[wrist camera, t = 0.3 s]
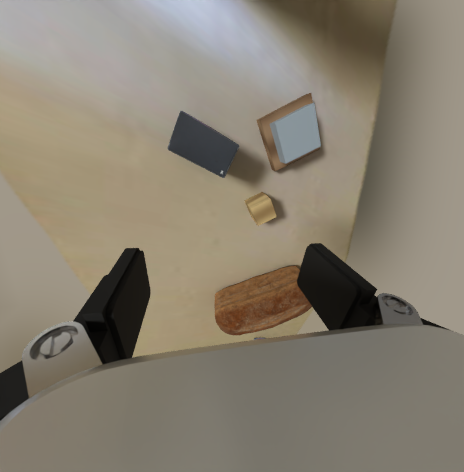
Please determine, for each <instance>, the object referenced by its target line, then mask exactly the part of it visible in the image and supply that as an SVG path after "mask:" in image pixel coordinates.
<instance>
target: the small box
mask: <svg viewBox="0 0 464 472" xmlns="http://www.w3.org/2000/svg"><path fill="white" fill-rule="evenodd" d="M238 148H239V145H238V144H236V143H235V142H233V141H232V140H230V139H228V138H227V137H225V136H224V135H222V134H220V133H219V132H217V131H216V130H214V129H212V128H211V127H209V126H207V125H206V124H204V123H202V122H201V121H199V120H197V119H195V118H194V117H192V116H190V115H189V114H187V113H185V112H183V111H180V114H179V116H178V119H177V122H176V125H175V128H174V131H173V134H172V137H171V140H170V143H169V146H168V150H169V151H171V152H173V153H175V154H177V155H179V156H181V157H183V158H185V159H187V160H189V161H191V162H193V163H195V164H197V165H199V166H201V167H203V168H205V169H206V170H208V171H210V172H212V173H214V174H216V175H218V176H220V177H222V178H225V176H226V174H227V171H228V169H229V167H230V165H231V163H232V161H233V159H234V157H235V154H236V153H237V150H238Z"/></svg>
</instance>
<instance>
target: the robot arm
mask: <svg viewBox="0 0 464 472" xmlns="http://www.w3.org/2000/svg"><path fill="white" fill-rule="evenodd" d="M297 285H298V287H299V288H300V290H301V291H302V293H303V294H304V295H305V297H306V298H307V300H308V301H309V302H310V304H311V305H312V307H313V308H314V310H315V311H316V312H317V314H318V315H319V317H320V318H321V319H322V321H323V322H324V324H325V325H326V327H327V328H328V329H329V331H323V332H314V333H307V334H298V335H290V336H282V337H274V338H267V339H259V340H251V341H244V342H236V343H229V344H221V345H214V346H206V347H199V348H191V349H184V350H178V351H171V352H164V353H158V354H151V355H144V356H139V357H134V358H132V355H133V352H134V349H135V345H136V342H137V338H138V335H139V332H140V328H141V325H142V322H143V318H144V315H145V312H146V308H147V305H148V302H149V298H150V286H149V280H148V274H147V268H146V263H145V257H144V252H143V251H140V250H139V248H126V249H125V250H124V252H123V253H122V255H121V256H120V258H119V259H118V261H117V262H116V264H115V265H114V267H113V268H112V270H111V271H110V273H109V274H108V275H106V276H104V277H103V278H102V280H101V281H100V283H99V284H98V286H97V287H96V289H95V290H94V292H93V293H92V294H91V296H90V297H89V299H88V300H87V302H86V303H85V305H84V306H83V308H82V309H81V311H80V312H79V314H78V315H77V316H76V318H75V319H74V321H73V322H64V323H60V324H57V325H55V326H52V327H50V328H48V329H47V330H45V331H43V332H41V333H40V334H39V335H38V336H36V337H35V338H34V339H33V340H32V341H31V342H30V343H29V344H28V345H27V346H26V348H25V350H24V352H23V355H22V361H21V362H19V363H17V364H15V365H13V366H12V367H10V368H8V369H7V370H5V371H3V372H2V373H0V472H464V335H462V334H459V333H457V332H454V331H451V330H449V329H446V328H444V327H441V326H439V325H436V324H434V323H431V322H429V321H426V320H424V319H422V318H420V316H419V314H418V312H417V311H416V309H415V308H414V307H413V306H412V305H411V304H410V303H408V302H407V301H405V300H403V299H402V298H400V297H397V296H395V295H392V294H387V293H382V294H379V295H378V297H376V296H375V295H374V294H375V292H376V290H377V289H376V288H375V287H374V286H372V285H371V284H370V283H369V282H368V281H366V280H365V279H364V278H363V277H362V276H360V275H359V274H358V273H357V272H355V271H354V270H353V269H352V268H351V267H349V266H348V265H347V264H346V263H344V262H343V261H342V260H341V259H340V258H338V257H337V256H336V255H335V254H333V253H332V252H331V251H330V250H328V249H327V248H326V247H325V246H324V245H322V244H321V243H315V244H310V245H309V246H308V247H307V248H306V252H305V255H304V258H303V262H302V265H301V268H300V272H299V275H298V278H297Z"/></svg>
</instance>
